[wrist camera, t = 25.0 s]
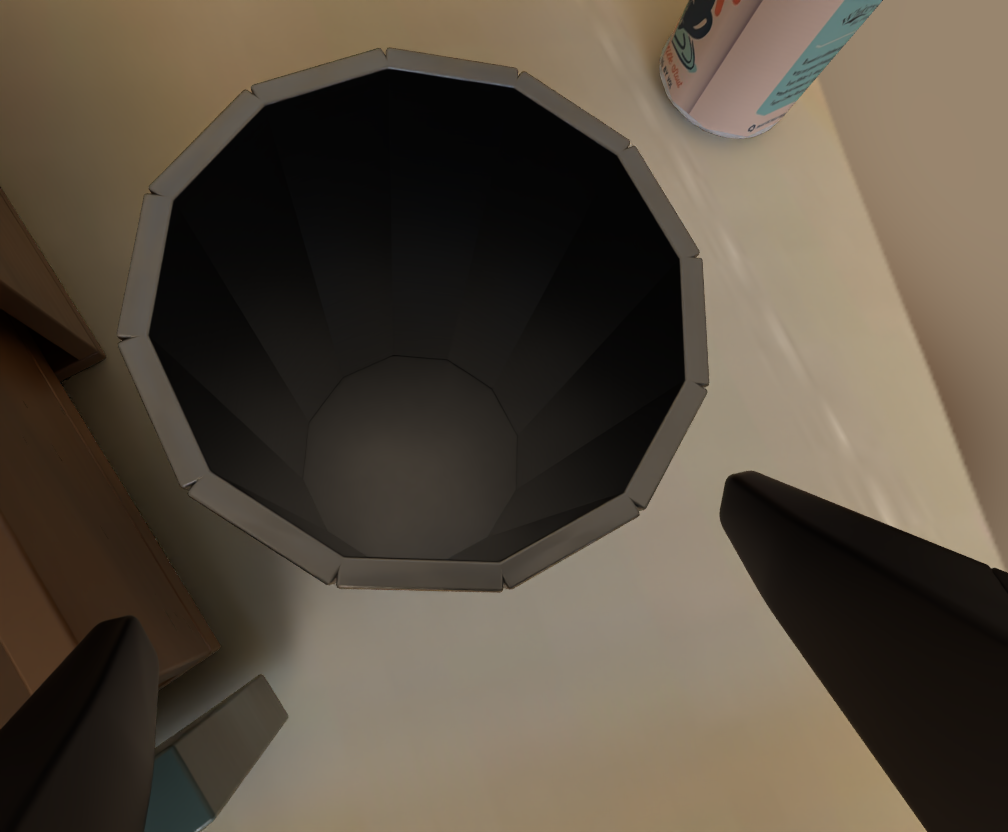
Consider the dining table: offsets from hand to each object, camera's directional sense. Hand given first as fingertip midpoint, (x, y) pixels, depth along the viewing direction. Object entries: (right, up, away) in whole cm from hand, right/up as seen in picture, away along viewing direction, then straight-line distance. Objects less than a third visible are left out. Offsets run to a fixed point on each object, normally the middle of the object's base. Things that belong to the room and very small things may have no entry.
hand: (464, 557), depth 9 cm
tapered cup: (-2, +1, +8) cm, 8 cm away
